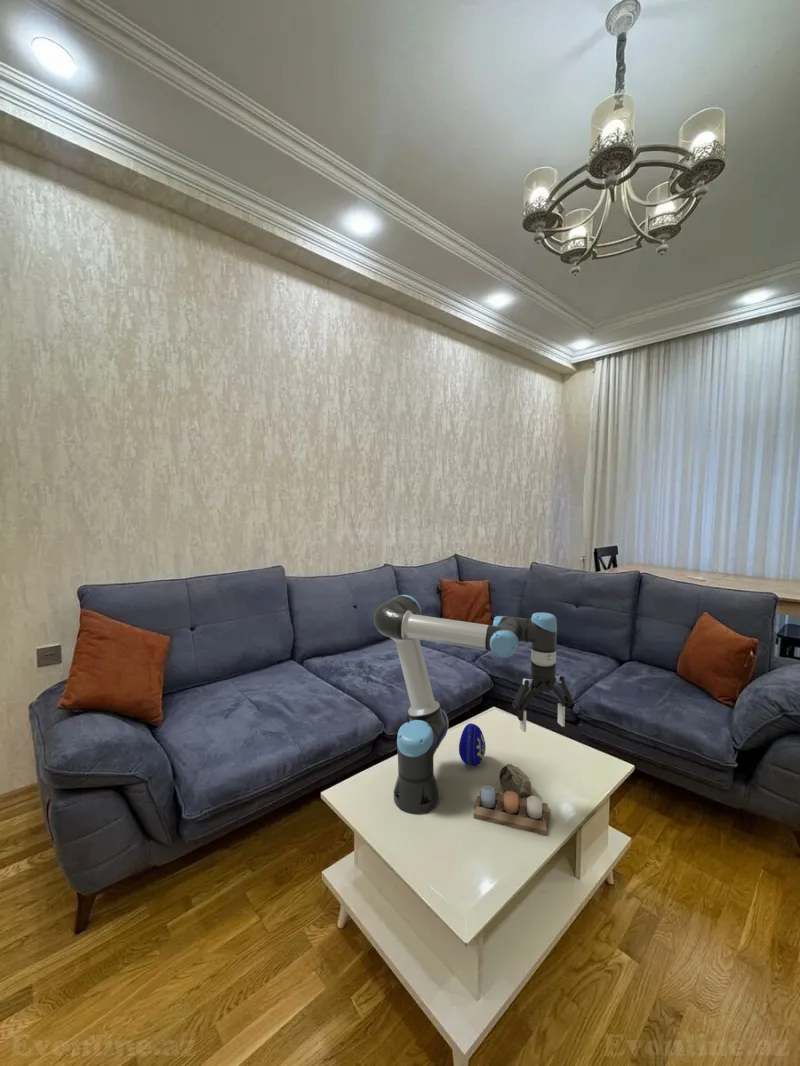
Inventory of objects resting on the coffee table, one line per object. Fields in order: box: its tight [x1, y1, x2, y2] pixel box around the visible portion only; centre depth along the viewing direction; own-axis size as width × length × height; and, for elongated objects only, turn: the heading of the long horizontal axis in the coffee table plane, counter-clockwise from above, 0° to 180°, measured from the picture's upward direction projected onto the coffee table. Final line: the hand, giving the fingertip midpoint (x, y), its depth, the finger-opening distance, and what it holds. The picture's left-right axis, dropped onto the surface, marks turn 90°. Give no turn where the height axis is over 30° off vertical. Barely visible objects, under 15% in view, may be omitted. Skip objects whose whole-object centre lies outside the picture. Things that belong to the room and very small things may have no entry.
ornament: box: [458, 722, 487, 767], centre depth 159 cm, size 11×9×15 cm
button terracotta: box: [503, 791, 519, 814], centre depth 133 cm, size 4×4×4 cm
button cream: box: [526, 795, 543, 820], centre depth 130 cm, size 4×4×4 cm
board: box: [473, 790, 550, 836], centre depth 133 cm, size 22×12×2 cm, turn 68°
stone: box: [499, 763, 533, 799], centre depth 143 cm, size 7×12×7 cm, turn 35°
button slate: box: [480, 786, 496, 809], centre depth 135 cm, size 4×4×4 cm
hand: (542, 727), depth 137 cm, fingers open, 13 cm apart
